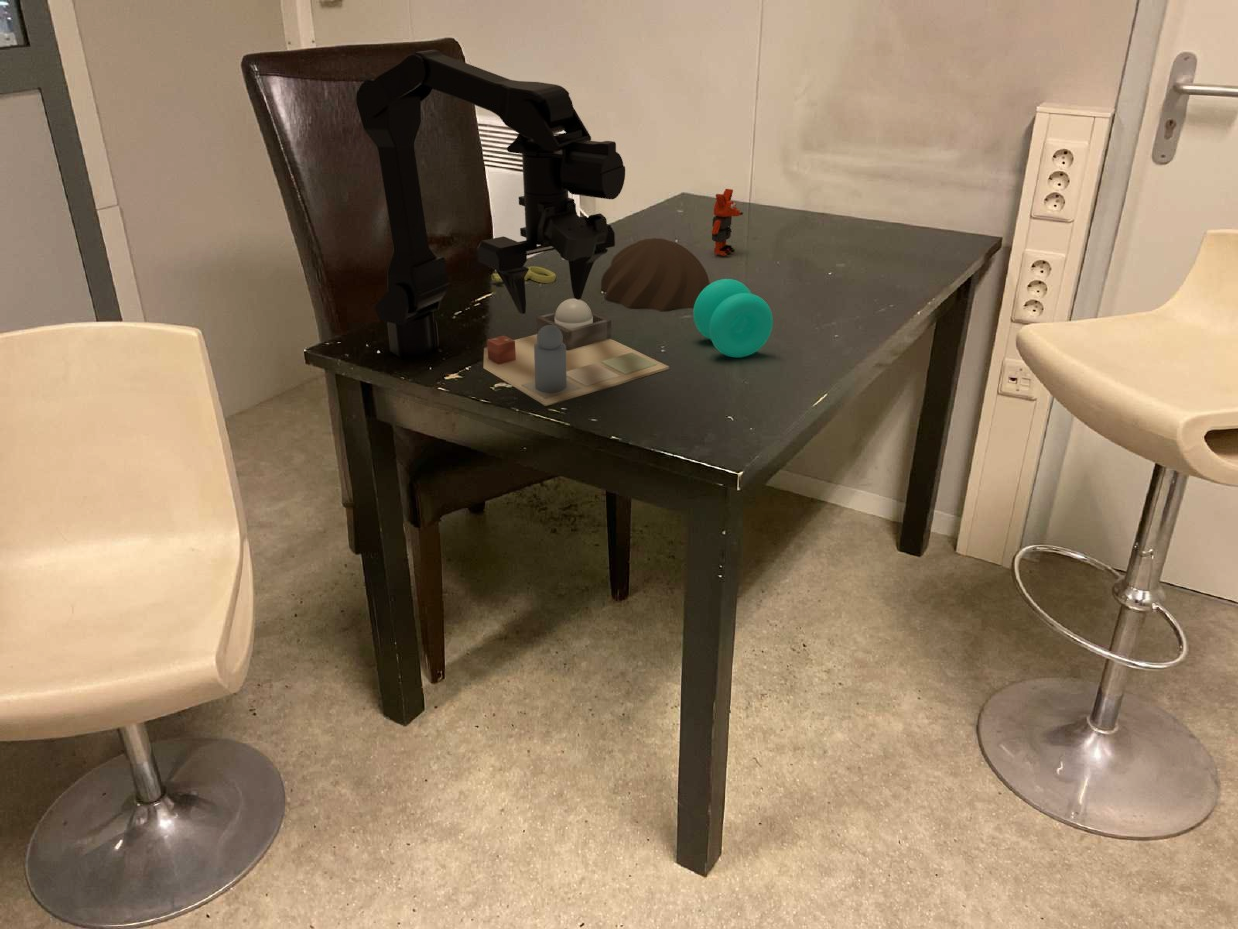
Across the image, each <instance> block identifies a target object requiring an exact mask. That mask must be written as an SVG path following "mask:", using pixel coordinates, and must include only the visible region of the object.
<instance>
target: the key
mask: <svg viewBox="0 0 1238 929" xmlns="http://www.w3.org/2000/svg"><path fill="white" fill-rule="evenodd" d="M527 268H529V270H528V272H527V274H526V276H525V278H524V280H525V281H528V279H530V280H532V281H534V282H538V283H542V284H543V283H544V284H549V283H554V282H555V281H556V278H557V276H556V273H554V272H553V271H551V270H549V269H547V268H544V267H541V266H528V267H527ZM491 280H492V281H497V282H503V281H502V279H501V278H500V276H499V275H498V273H492V274H491Z"/></svg>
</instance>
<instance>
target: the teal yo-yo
mask: <svg viewBox="0 0 1238 929" xmlns="http://www.w3.org/2000/svg"><path fill="white" fill-rule="evenodd" d="M692 317H693V322H694V326H695V327H696V329H697V330H698V331H699V333H700V334H701V335H702V336H703V337H705V338H706V339H708V340H710V341H711V342H712V343H711V344H712V345H713V346H714V347H715V348H716V350H718V352H720V353H721V354H722V355H724V356H726V357H729V358H730V357H731V358H745V357H748V356H751V355H753V354H755V353H756V352H758V351H759V350H760V349H762V348H763V347H764V345H765V344H766V343H767V342H768V340H769V339H770V336H771V334H772V331H773V327H774V326H773V324H774V319H773V313H772V309H771V308H770V306H769V305H768V303H767V302H766V301H765V300H764V299H763V298H762V297H760V296H758V295H757V294H754V293H752V292H751V290H750V289H749V287H747V286H746V285H745V284H744V283H743V282H741V281H739V280H736V279H731V278H722V279H718V280H715V281H713V282H711V283H710V284H709V285H708V286H707V287H705V288H704V289H703V290H702V291H701V293H700V294H699V296H698V297H697V299H696V302H695V304H694V307H693V311H692Z"/></svg>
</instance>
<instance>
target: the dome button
mask: <svg viewBox="0 0 1238 929" xmlns="http://www.w3.org/2000/svg"><path fill="white" fill-rule="evenodd" d="M591 311H592V310H591V308H590V306H589V305H588V304H587V303H586V302H585V301H583V300H582V299H580V300H577V299H575V298H568V299H565V300H563V301H562V302H561V303H559V305H558V306H557V308H556V309H555V312H556V314H555V323H556V324H558V325H560V326H562V327H564V328H567V329H572V328H576V327H580V326H583V325H587V324H591V323H593V316H592V312H593V311H592V312H591Z"/></svg>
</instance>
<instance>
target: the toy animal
mask: <svg viewBox="0 0 1238 929" xmlns="http://www.w3.org/2000/svg"><path fill="white" fill-rule="evenodd" d="M733 192H734V190H733V188H731V189H730V188H725V189H724V191H723V193H722V194H721V193H716V194H715V200H716V201H715V204H714V206H713V207H714V208H713V215H714V217H713V218H712V230H711V240H712V241H713V242H715V244H714V246H715V247H714V248H713V254H716V255H719V256H730V255H731V253H735V249H734V247H732V245H731V244H730V245H729V244H727V240H729V239H730V238H731V236H732V228H731V225H732V218H733V217H739V216H742V215H743V214H744V212H742V211H740V210H739V209H738V208H737V207H736V206H737V204H736V203H735V202H734V201H733V200H731V199H732V197H733Z"/></svg>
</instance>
